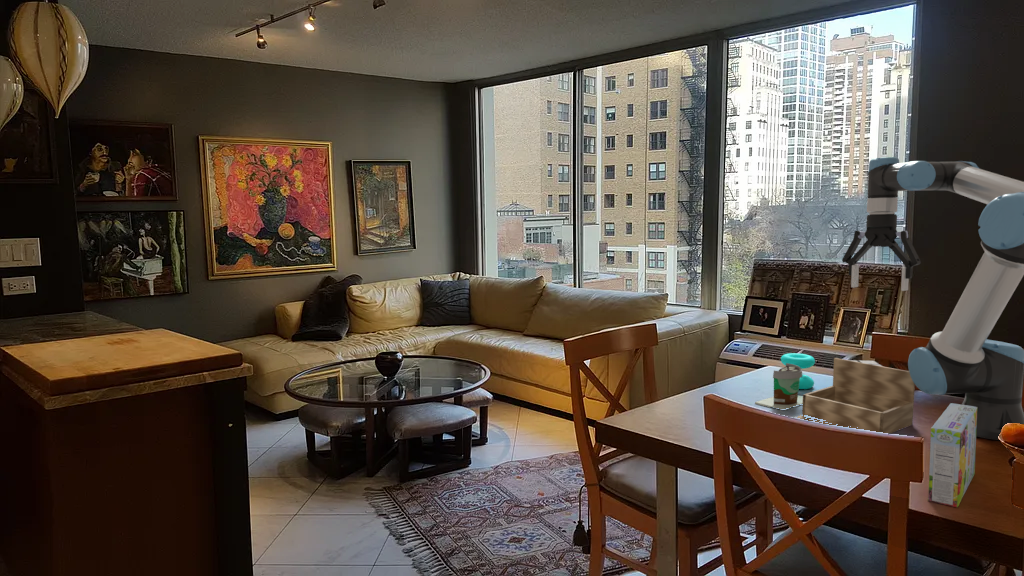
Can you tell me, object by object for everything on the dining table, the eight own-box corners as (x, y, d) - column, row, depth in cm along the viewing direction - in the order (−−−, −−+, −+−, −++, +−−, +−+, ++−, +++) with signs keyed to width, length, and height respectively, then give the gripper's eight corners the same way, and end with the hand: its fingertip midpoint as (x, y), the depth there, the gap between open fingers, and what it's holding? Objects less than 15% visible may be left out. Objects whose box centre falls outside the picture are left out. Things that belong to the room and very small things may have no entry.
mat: (814, 401, 200) (814, 399, 200) (782, 411, 190) (782, 409, 190) (787, 394, 207) (787, 392, 207) (755, 403, 198) (755, 402, 198)
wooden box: (912, 424, 177) (915, 372, 176) (869, 442, 165) (872, 386, 163) (833, 405, 195) (835, 357, 193) (789, 419, 183) (791, 369, 181)
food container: (794, 408, 191) (795, 374, 190) (772, 404, 195) (773, 370, 193) (806, 398, 200) (808, 365, 199) (785, 395, 204) (786, 362, 203)
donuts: (815, 360, 208) (780, 357, 212) (814, 391, 209) (779, 389, 213) (814, 353, 217) (781, 351, 221) (813, 383, 219) (780, 381, 222)
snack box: (944, 468, 148) (949, 401, 146) (975, 475, 145) (980, 406, 143) (925, 501, 132) (929, 426, 131) (959, 509, 129) (964, 432, 127)
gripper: (936, 212, 183) (932, 290, 185) (843, 214, 202) (841, 284, 204) (925, 212, 178) (921, 293, 180) (831, 214, 198) (829, 286, 200)
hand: (878, 288), depth 192 cm, fingers open, 13 cm apart
